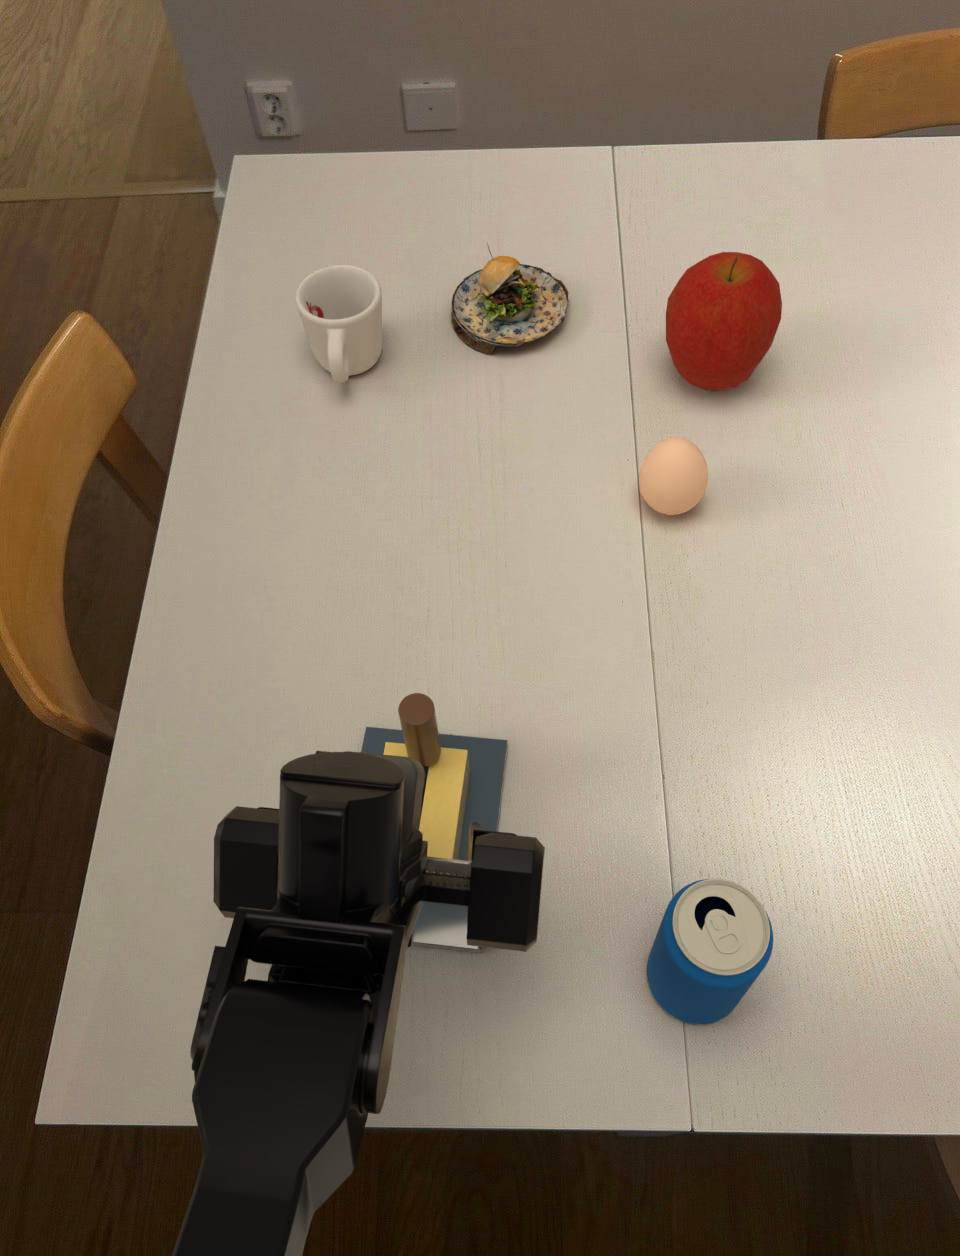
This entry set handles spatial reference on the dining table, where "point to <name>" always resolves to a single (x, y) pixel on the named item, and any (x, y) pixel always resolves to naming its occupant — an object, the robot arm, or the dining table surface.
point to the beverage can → (708, 950)
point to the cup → (342, 318)
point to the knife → (420, 729)
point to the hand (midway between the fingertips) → (404, 821)
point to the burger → (507, 304)
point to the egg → (673, 476)
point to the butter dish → (479, 810)
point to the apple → (722, 319)
